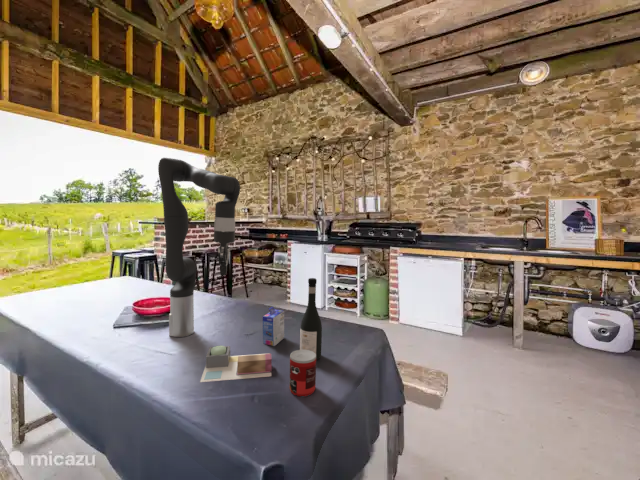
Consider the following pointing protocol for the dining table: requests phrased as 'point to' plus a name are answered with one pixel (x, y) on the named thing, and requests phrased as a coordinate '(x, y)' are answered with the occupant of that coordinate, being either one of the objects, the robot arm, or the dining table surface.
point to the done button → (218, 350)
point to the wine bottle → (311, 324)
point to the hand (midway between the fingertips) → (223, 274)
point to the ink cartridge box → (273, 327)
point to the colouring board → (230, 372)
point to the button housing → (217, 359)
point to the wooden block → (254, 363)
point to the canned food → (302, 372)
